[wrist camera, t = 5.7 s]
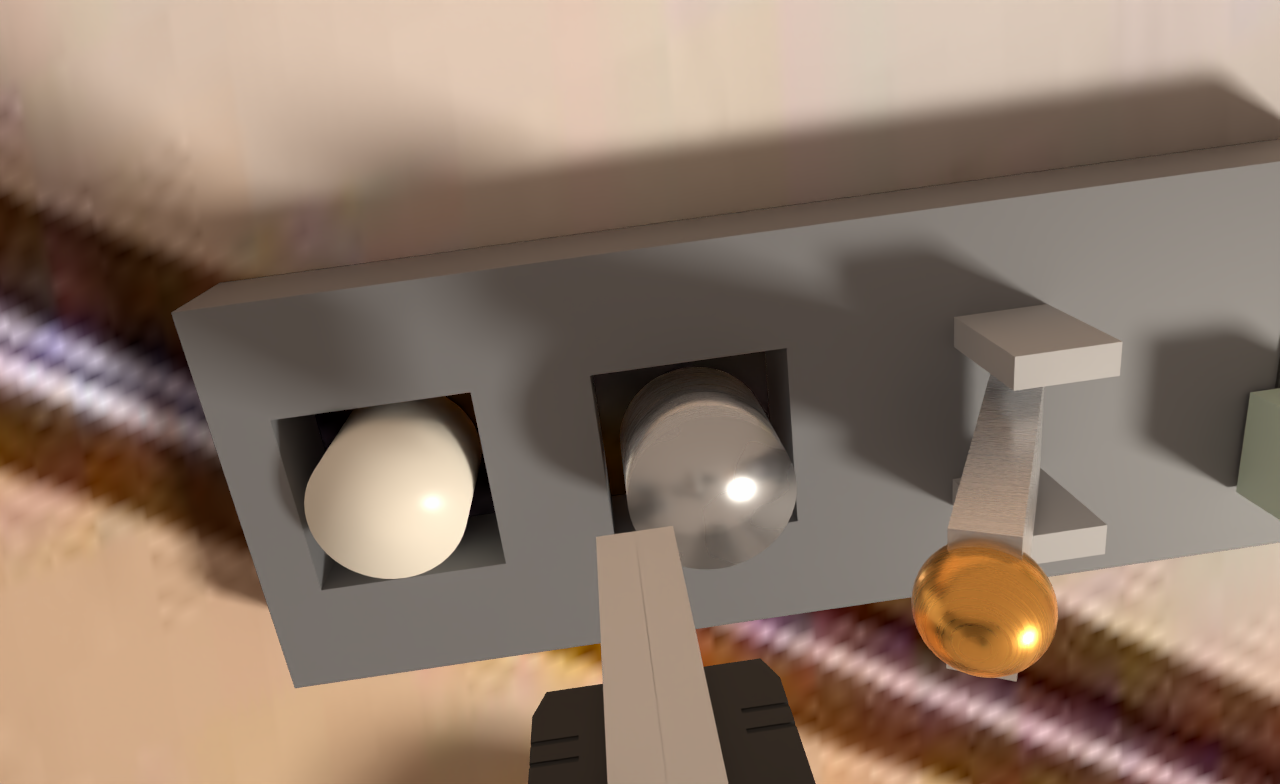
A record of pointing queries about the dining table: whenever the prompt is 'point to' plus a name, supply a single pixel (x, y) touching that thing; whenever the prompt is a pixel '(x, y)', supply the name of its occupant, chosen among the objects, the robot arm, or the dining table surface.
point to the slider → (1262, 452)
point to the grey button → (706, 467)
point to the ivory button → (395, 487)
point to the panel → (769, 391)
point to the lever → (991, 549)
